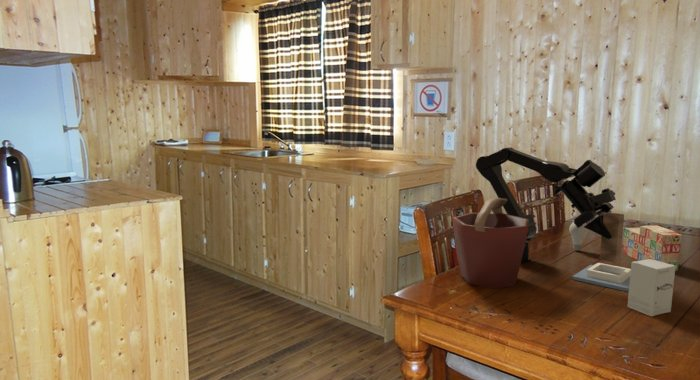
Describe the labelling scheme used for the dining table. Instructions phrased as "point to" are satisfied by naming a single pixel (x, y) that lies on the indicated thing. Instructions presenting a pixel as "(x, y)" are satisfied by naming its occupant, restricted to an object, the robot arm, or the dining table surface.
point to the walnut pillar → (613, 245)
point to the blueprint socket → (605, 276)
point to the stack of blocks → (652, 244)
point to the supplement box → (651, 287)
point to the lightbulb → (577, 235)
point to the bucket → (490, 245)
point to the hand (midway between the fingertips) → (613, 236)
